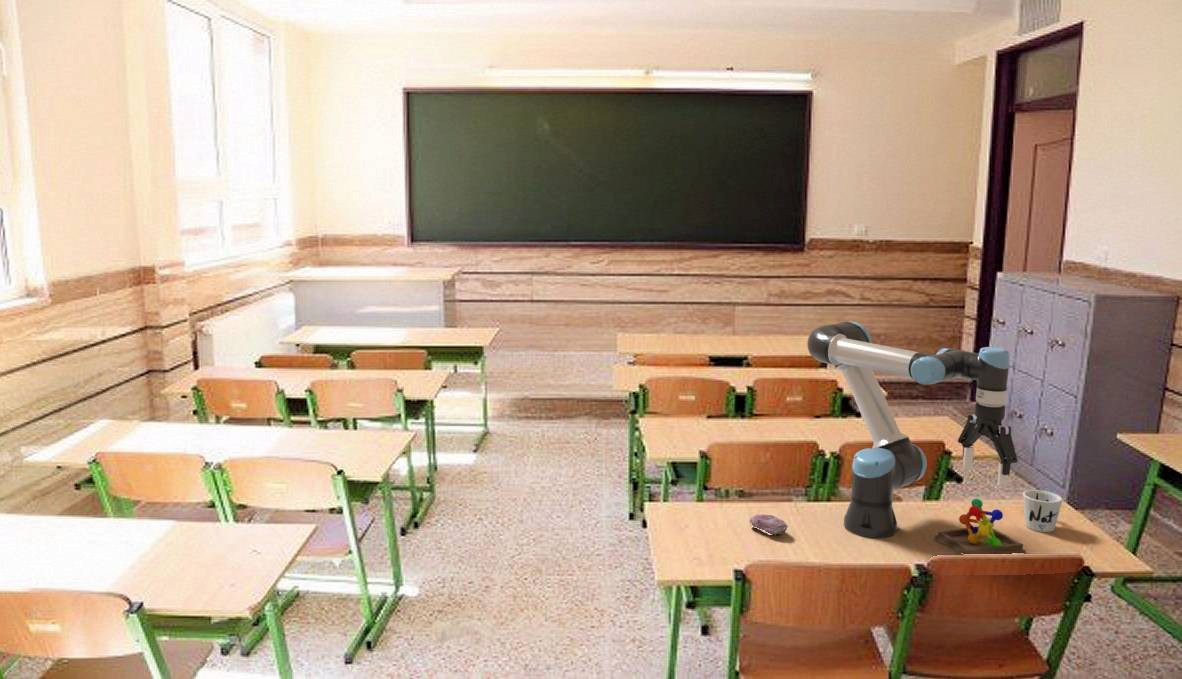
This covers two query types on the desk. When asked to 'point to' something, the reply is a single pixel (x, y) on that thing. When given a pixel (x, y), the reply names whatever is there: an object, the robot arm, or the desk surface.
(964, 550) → the base
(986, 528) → the molecular model
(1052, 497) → the mug
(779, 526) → the fossil
